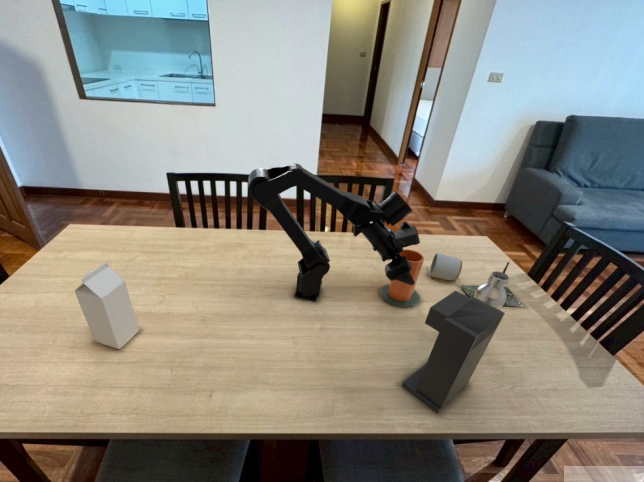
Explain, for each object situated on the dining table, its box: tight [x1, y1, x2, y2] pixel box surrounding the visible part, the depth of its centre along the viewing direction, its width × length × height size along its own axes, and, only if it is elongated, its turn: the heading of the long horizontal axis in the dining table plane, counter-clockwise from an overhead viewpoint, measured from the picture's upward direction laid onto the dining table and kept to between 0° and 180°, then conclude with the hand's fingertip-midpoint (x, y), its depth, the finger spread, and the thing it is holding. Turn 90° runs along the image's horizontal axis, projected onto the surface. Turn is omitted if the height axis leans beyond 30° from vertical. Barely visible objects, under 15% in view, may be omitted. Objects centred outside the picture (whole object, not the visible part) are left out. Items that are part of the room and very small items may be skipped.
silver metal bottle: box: [474, 270, 510, 311], centre depth 84 cm, size 6×7×20 cm
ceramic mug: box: [428, 252, 463, 282], centre depth 113 cm, size 11×8×8 cm
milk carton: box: [74, 261, 140, 350], centre depth 80 cm, size 7×7×19 cm
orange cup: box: [388, 249, 425, 301], centre depth 100 cm, size 7×7×13 cm
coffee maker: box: [401, 290, 506, 414], centre depth 72 cm, size 10×12×21 cm
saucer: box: [380, 283, 420, 309], centre depth 104 cm, size 11×11×1 cm
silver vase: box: [460, 259, 525, 308], centre depth 102 cm, size 15×10×13 cm
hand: (410, 275), depth 99 cm, fingers open, 9 cm apart
